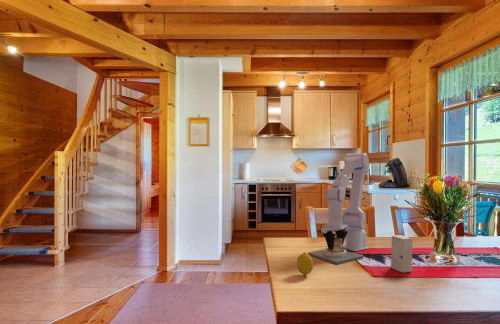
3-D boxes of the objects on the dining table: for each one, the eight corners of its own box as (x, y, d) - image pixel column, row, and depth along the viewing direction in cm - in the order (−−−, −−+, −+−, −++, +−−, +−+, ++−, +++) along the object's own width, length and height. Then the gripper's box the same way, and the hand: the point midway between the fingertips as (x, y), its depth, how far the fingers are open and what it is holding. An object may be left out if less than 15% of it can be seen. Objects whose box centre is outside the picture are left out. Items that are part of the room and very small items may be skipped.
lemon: (303, 279, 105) (303, 255, 105) (293, 274, 110) (293, 251, 110) (316, 276, 108) (316, 253, 108) (306, 272, 113) (306, 249, 113)
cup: (335, 251, 136) (334, 236, 136) (345, 253, 131) (345, 238, 132) (327, 253, 133) (326, 238, 133) (337, 255, 128) (336, 240, 129)
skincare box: (390, 267, 118) (390, 235, 118) (400, 266, 119) (400, 234, 119) (402, 273, 112) (402, 238, 112) (413, 272, 113) (412, 238, 113)
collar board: (333, 249, 143) (333, 243, 144) (363, 258, 130) (363, 252, 130) (307, 254, 135) (307, 249, 135) (337, 264, 121) (337, 258, 121)
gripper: (330, 218, 125) (330, 253, 125) (354, 215, 133) (354, 247, 133) (317, 216, 131) (317, 249, 131) (340, 213, 139) (340, 244, 139)
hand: (335, 248), depth 132 cm, fingers closed on cup, 5 cm apart
